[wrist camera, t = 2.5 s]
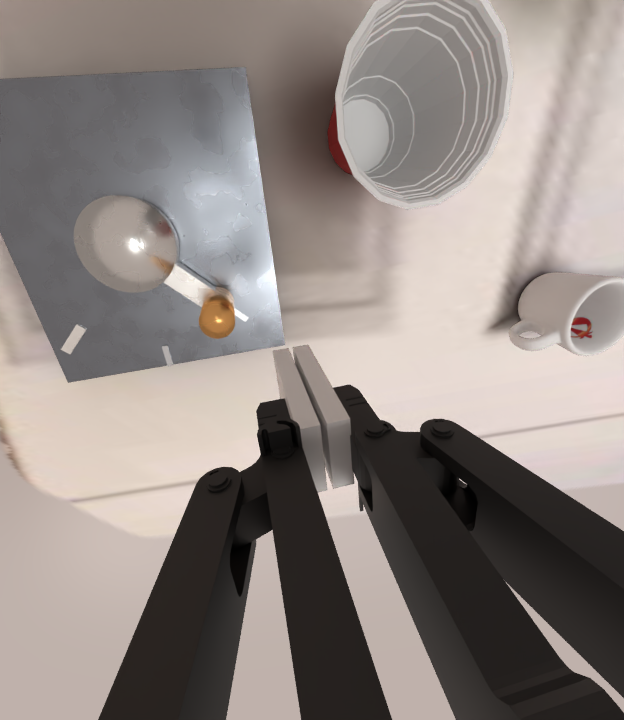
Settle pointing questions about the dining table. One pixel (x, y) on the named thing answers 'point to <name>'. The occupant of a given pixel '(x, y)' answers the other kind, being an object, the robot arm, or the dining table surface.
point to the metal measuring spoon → (145, 257)
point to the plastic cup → (421, 98)
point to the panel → (147, 182)
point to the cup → (571, 313)
